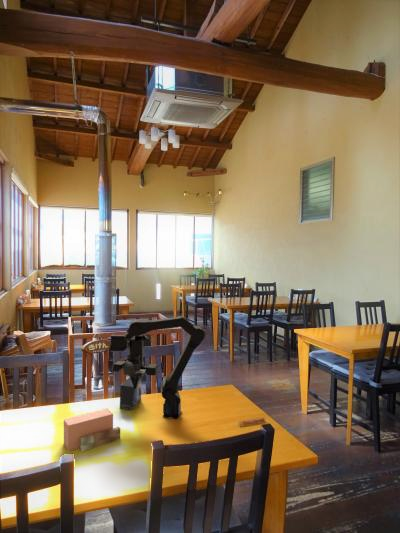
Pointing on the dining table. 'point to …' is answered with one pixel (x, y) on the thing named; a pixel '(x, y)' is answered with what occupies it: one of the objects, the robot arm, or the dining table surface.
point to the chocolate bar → (251, 421)
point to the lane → (99, 438)
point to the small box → (129, 395)
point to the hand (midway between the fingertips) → (135, 388)
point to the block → (86, 426)
